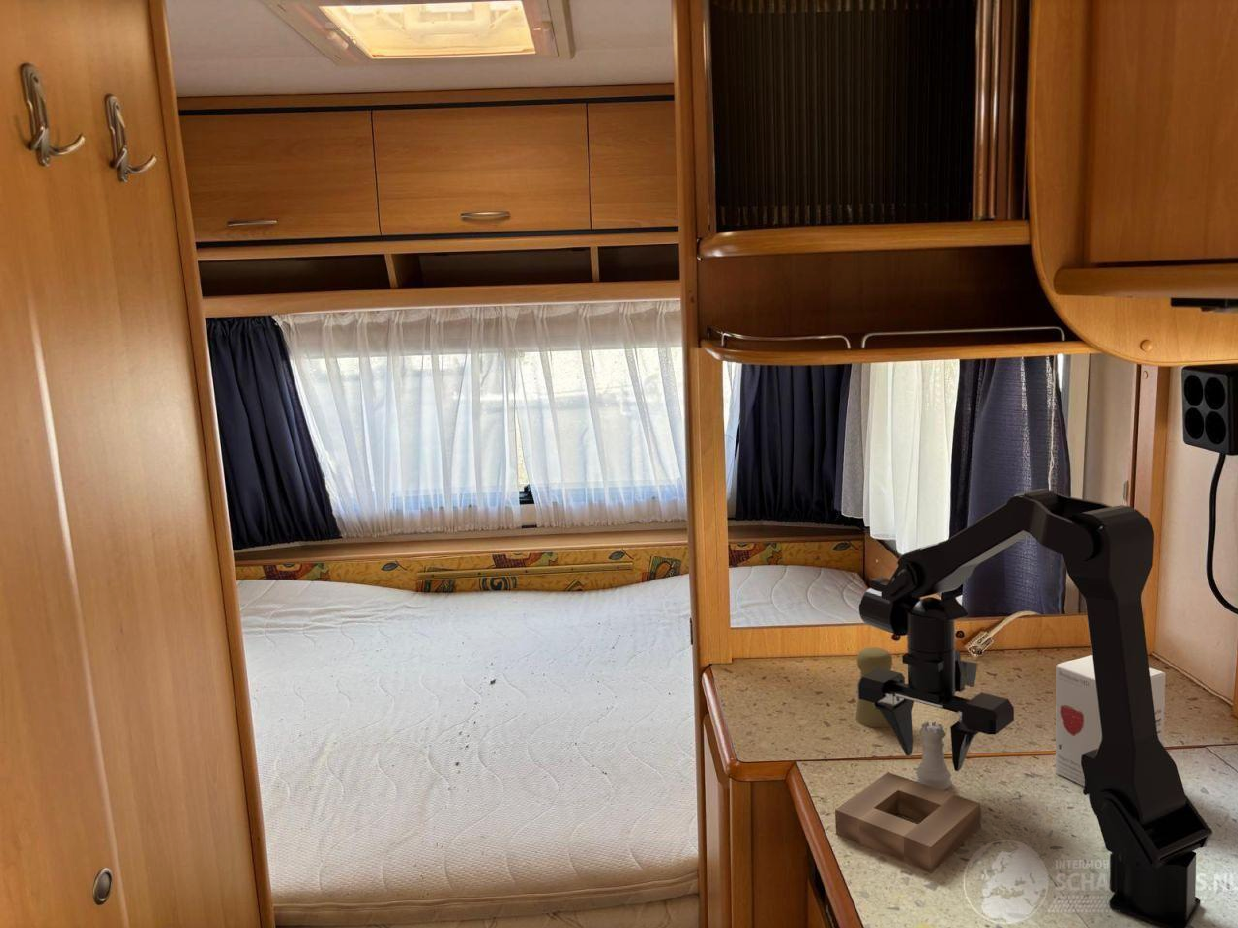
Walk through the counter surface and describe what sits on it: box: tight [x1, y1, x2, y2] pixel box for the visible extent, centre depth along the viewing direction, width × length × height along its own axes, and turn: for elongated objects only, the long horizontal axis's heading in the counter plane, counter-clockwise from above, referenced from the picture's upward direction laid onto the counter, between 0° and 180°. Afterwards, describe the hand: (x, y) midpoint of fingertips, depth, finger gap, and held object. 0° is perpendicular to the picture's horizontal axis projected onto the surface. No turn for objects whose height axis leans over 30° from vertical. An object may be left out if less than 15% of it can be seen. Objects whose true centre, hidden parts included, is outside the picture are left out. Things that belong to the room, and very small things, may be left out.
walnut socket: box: [834, 771, 982, 873], centre depth 104 cm, size 12×12×3 cm
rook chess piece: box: [914, 721, 953, 791], centre depth 114 cm, size 4×4×8 cm
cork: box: [855, 646, 893, 728], centre depth 134 cm, size 6×6×11 cm
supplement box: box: [1055, 654, 1167, 788], centre depth 112 cm, size 9×9×15 cm
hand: (933, 761), depth 114 cm, fingers open, 6 cm apart
